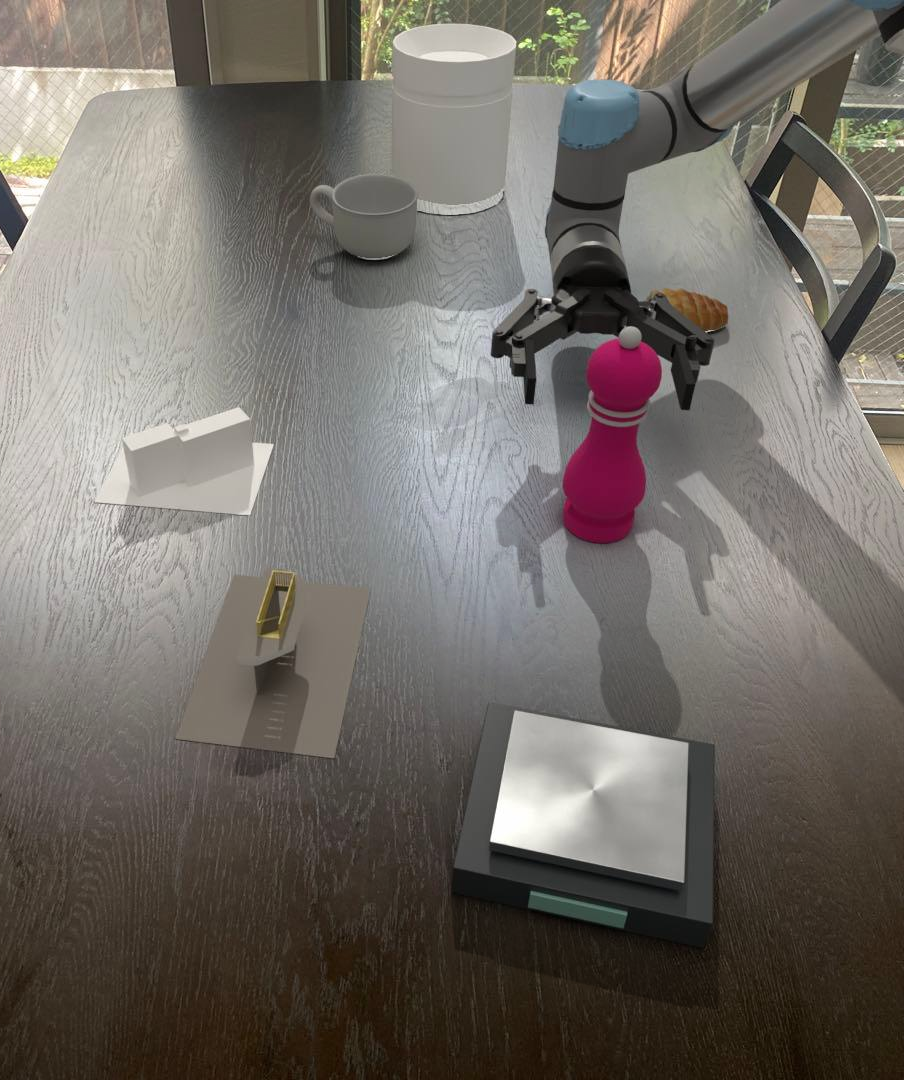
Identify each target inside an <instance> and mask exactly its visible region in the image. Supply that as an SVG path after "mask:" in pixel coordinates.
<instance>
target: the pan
mask: <svg viewBox="0 0 904 1080" xmlns="http://www.w3.org/2000/svg"><path fill="white" fill-rule="evenodd" d="M688 756H689V743H687V742H681V741H676V740H671V739H665V738H660V737H654V736H649V735H644V734H638V733H633V732H628V731H622V730H617V729H612V728H606V727H601V726H596V725H590V724H585V723H580V722H574V721H569V720H564V719H558V718H553V717H548V716H542V715H537V714H532V713H526V712H521V711H516V710H515V711H514V715H513V720H512V726H511V731H510V736H509V741H508V747H507V752H506V757H505V763H504V768H503V773H502V778H501V784H500V789H499V794H498V800H497V805H496V810H495V815H494V821H493V826H492V831H491V837H490V842H489V850H490V851H495V852H499V853H504V854H509V855H514V856H518V857H523V858H528V859H532V860H537V861H542V862H547V863H551V864H556V865H561V866H565V867H570V868H575V869H579V870H584V871H589V872H594V873H598V874H603V875H608V876H612V877H617V878H622V879H627V880H631V881H636V882H641V883H645V884H650V885H655V886H659V887H664V888H669V889H674V890H678V891H682V888H683V885H684V879H685V848H686V817H687V786H688Z"/></svg>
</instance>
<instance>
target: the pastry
mask: <svg viewBox="0 0 904 1080" xmlns="http://www.w3.org/2000/svg"><path fill="white" fill-rule="evenodd" d="M656 293H662V294H664V295H666V297H667V299H668V301H669V303H670V305H672V306H673V307H674V308H676V309H677V310H678V311H679V312H681V313H682V314H683V315H684V316H686V317H687V318H688V319H689V320H691V321H692V322H693V323H694V324H696V325H697V326H698V327H700V328H701V329H702V330H703V331H708V330H716V329H718V330H720V329H719V328H721V327H723V326H725V325H726V326H727V325H728V323H729V312H728V311H729V309H728V306H727V305H726V304H724V302H722V301H720V300H718V299H716V298H709V296H708V295H704V294H699V293H697V292H695V291H692V292H689V291H687V290H685V289H684V288H681V287H679V288H678V289H676V290H675V289H672V288H668V287H663V288H662V289H661V290H660V291H659V290H655V289H653V290H651V291H650V292H649V294H647V296H646V297H645V299H644V301H652V300H653V297H654V294H656ZM726 326H725V327H726ZM721 329H722V328H721Z"/></svg>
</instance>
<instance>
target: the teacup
mask: <svg viewBox="0 0 904 1080" xmlns="http://www.w3.org/2000/svg"><path fill="white" fill-rule="evenodd" d="M320 195H324V196H326V197H327V198H328V199H329V201H330V203H331V207H332V214H330V213H329V212H328V211H327V210H325V208H324V207H323V206H322V205H321V203H320V201H319V196H320ZM417 199H418V191H417V189H416V187H415V186H414V185H413V184H412V183H410V182H409V181H407V180H405V179H403V178H400V177H397V176H393V175H391V174H387V173H365V174H359V175H355V176H351V177H348V178H346V179H343V180H342V181H341V182H339V183H337V185H335V186H334V188H333V187H332V186H330V185H327V184H320V185H318V186H316V187H314V188H313V190H312V191H311V193H310V196H309V204H310V207H311V209H312V211H313V213H314V215H316V216H317V217H318V218H319V219H320V220H321V221H323V222H324V223H326V224H327V225H329V226H330V228H331V230H332V231H333V232H334V235H335V238H336V241H337V243H338V244H339V245H340V247H341V248H342V249H343V250H344V251H346V252H348V253H349V254H351V255H352V254H353V255H356V256H360V257H365V258H382V257H388V256H392V255H395V254H397V255H399V254H400V253H401V252H403V251H405V250H406V249H407V248H408V247H409V246H410V245H411V243H412V241H413V239H414V237H415V234H416V229H417V214H418V212H417ZM398 253H399V254H398ZM353 255H352V256H353Z"/></svg>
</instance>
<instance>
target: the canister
mask: <svg viewBox="0 0 904 1080" xmlns="http://www.w3.org/2000/svg"><path fill="white" fill-rule="evenodd" d="M517 42H518V41H517V40H516V39H515V38H514V37H513V35H512V34H509V33H508V32H505V31H503V30H500V29H497V28H493V27H490V26H485V25H478V24H471V23H437V24H436V23H435V24H427V25H422V26H415V27H413V28H410V29H407V30H403V31H402V32H400V33H398V34H397V35H396V36H394V38H393V41H392V60H391V61H392V64H391V65H392V66H391V67H392V69H391V71H392V72H391V73H392V74H391V76H392V85H391V161H390V162H391V163H390V164H391V167H390V168H391V170H390V171H391V173H390V175H393V176H397V177H400V178H403V179H405V180H407V181H409V182H410V183H412V184H413V185H414V186H415V187H416V189H417V191H418V199H419V200H424V201H428V202H432V203H438V204H446V205H459V204H470V203H474V202H478V201H482V200H486V199H487V198H490V197H492V196H494V195H496V194H498V193H499V192H500V191H501V189H503V187H504V185H505V186H506V177H507V176H506V175H507V166H508V165H507V163H508V152H509V151H508V150H509V140H510V127H511V115H512V114H511V113H512V101H513V89H514V85H513V83H514V77H515V76H514V75H515V65H516V54H517V53H516V52H517Z"/></svg>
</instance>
